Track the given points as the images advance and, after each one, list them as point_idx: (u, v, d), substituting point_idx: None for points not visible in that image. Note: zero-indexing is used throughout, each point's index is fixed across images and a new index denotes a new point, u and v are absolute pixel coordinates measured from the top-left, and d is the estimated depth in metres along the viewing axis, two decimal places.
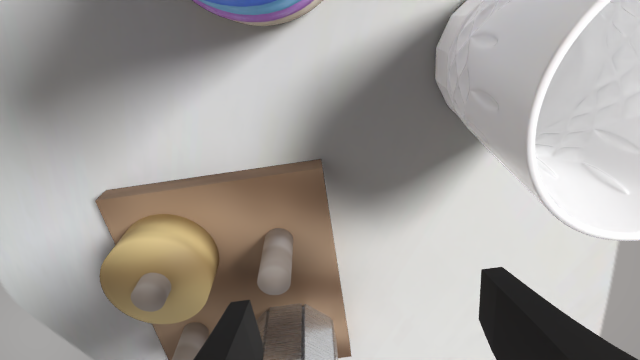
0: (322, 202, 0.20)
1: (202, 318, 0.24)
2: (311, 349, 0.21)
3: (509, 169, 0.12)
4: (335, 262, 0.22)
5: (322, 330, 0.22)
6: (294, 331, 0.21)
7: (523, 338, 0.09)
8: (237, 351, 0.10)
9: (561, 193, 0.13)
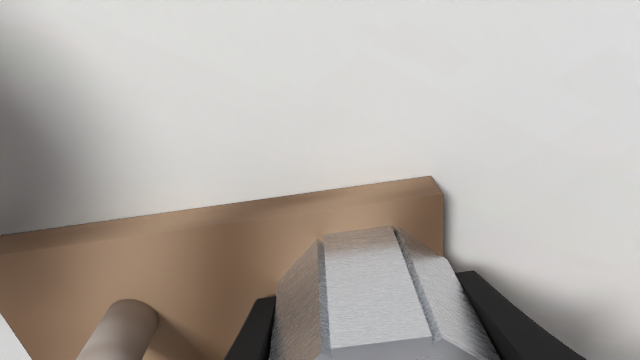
0: (33, 256, 0.11)
1: None
2: None
3: None
4: (167, 233, 0.11)
5: (301, 287, 0.10)
6: None
7: None
8: (268, 347, 0.10)
9: None
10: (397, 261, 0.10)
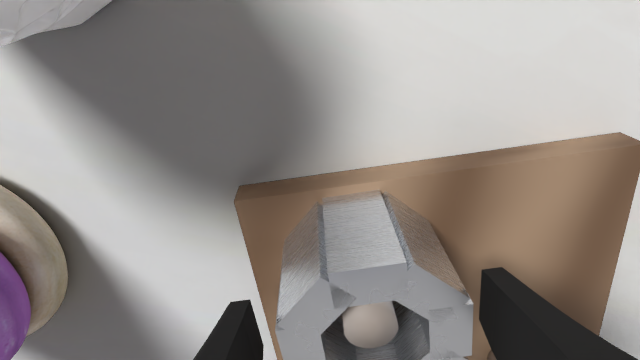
0: (291, 199, 0.13)
1: (483, 347, 0.17)
2: (286, 293, 0.11)
3: None
4: (409, 178, 0.13)
5: (304, 238, 0.12)
6: None
7: (523, 338, 0.09)
8: (237, 351, 0.10)
9: None
10: (382, 214, 0.12)
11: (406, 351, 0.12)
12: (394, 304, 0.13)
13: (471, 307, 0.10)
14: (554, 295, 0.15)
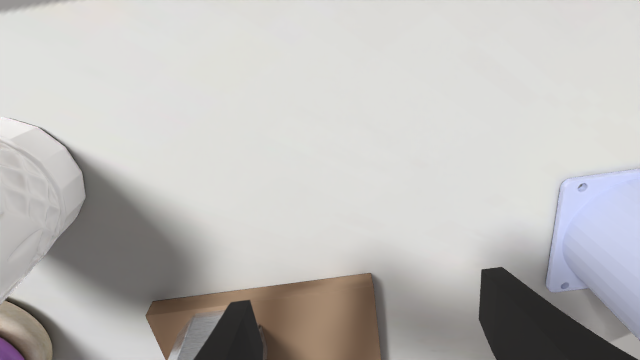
0: (178, 314, 0.23)
1: None
2: None
3: None
4: None
5: (180, 341, 0.22)
6: None
7: (523, 338, 0.09)
8: (237, 351, 0.10)
9: None
10: None
11: None
12: None
13: None
14: None
